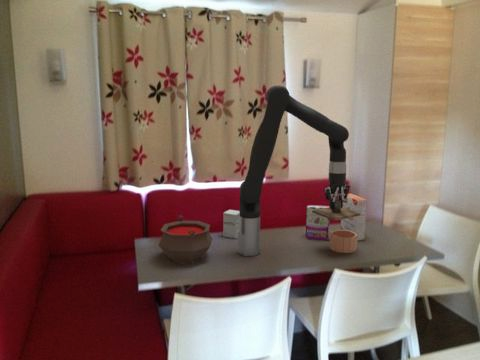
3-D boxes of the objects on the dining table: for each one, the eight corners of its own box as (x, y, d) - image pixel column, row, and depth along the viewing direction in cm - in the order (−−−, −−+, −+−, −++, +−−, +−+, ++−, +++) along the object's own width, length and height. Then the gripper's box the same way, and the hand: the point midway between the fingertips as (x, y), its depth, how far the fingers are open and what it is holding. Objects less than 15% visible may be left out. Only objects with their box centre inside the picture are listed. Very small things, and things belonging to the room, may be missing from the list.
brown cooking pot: (154, 251, 190) (153, 216, 187) (205, 245, 198) (204, 211, 195) (164, 271, 168) (163, 232, 165) (220, 263, 176) (220, 226, 173)
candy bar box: (328, 237, 210) (330, 206, 207) (327, 240, 205) (329, 208, 202) (306, 235, 213) (307, 204, 210) (305, 238, 208) (306, 206, 205)
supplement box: (222, 236, 210) (222, 212, 208) (229, 232, 217) (229, 209, 214) (235, 239, 207) (235, 214, 204) (242, 234, 213) (242, 210, 211)
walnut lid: (334, 220, 178) (335, 206, 177) (312, 212, 191) (312, 198, 190) (360, 215, 185) (361, 201, 184) (337, 207, 198) (337, 194, 197)
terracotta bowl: (342, 254, 187) (343, 239, 186) (324, 246, 197) (325, 232, 196) (361, 249, 193) (362, 235, 192) (343, 242, 203) (343, 228, 202)
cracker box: (339, 232, 217) (341, 193, 213) (349, 231, 219) (351, 193, 215) (354, 241, 204) (356, 200, 200) (365, 240, 206) (367, 199, 202)
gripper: (331, 174, 178) (330, 213, 181) (355, 170, 185) (353, 208, 188) (319, 171, 184) (318, 209, 187) (343, 168, 191) (342, 204, 194)
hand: (336, 208), depth 188 cm, fingers closed on walnut lid, 4 cm apart
